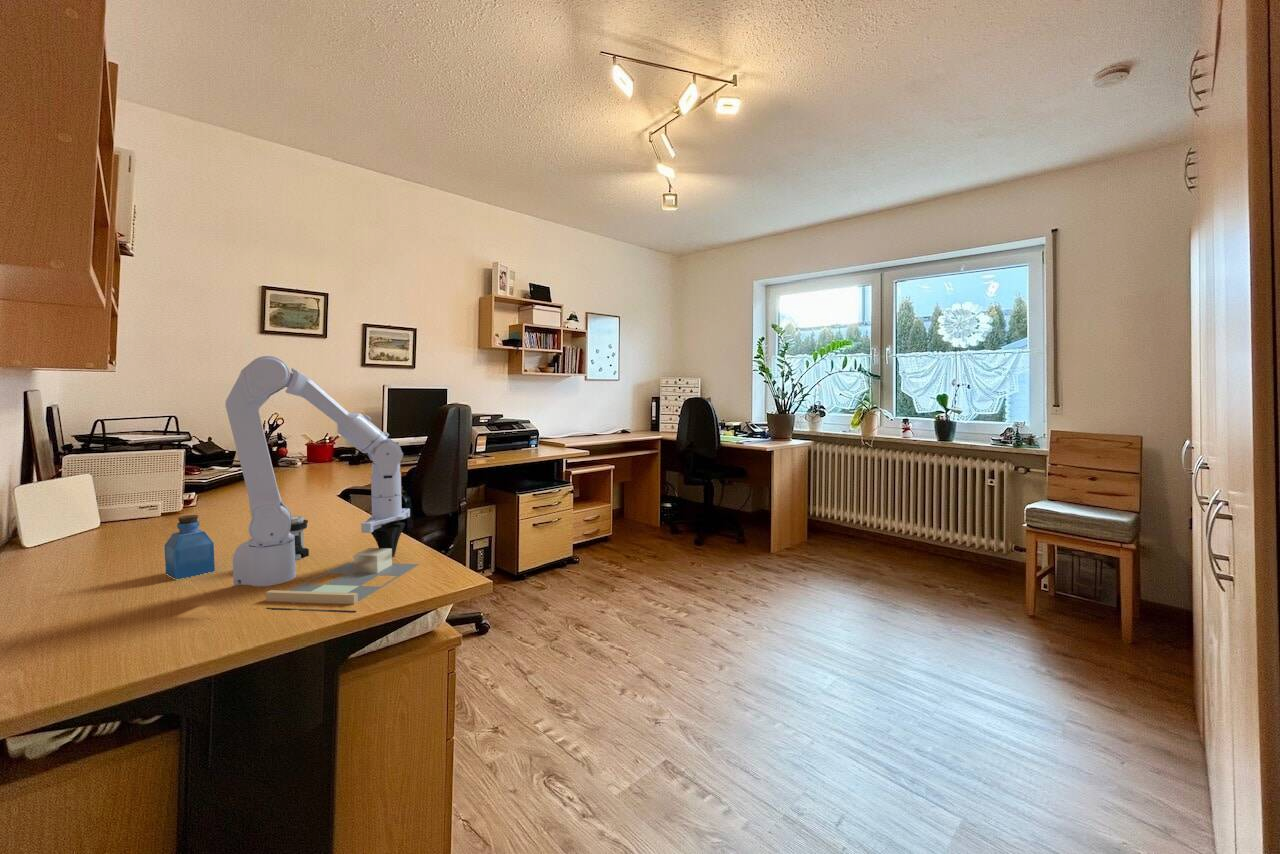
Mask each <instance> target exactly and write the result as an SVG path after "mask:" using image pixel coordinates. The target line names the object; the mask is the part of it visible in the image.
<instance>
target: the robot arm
mask: <svg viewBox="0 0 1280 854" xmlns="http://www.w3.org/2000/svg"><path fill="white" fill-rule="evenodd" d="M290 369H291V371H290ZM285 388H286V390H285V393H286V394H289V395H293V396H297V397H301V398H303V399H305V401H308V402H309V403H310V404H311V405H313V406H314V407H315V408H316V409H318V410H319V411H320V412H322V413H323V414H324V415H325V416H327V418H328V417H329V418H330V419H331V420H332V421H333V422H335V423H336V424H337V434H338V435H339V436H341V437H342V438H343V439H345V440H346V441H347V442H348V443H350V444H351V445H352V446H353V447H354V448H356V449H357V450H359V451H360V452H361V453H363V454H367V457H368V458H369V460H370V461H372V463H371V473H370V474H371V475H370V486H371V489H370V490H371V491H370V492H371V516H370V517H369V518H368V519H366V520H365V521H363V522H361V523H360V527H361V529H360V532H361V533H362V534H366V533H369V534H371V535H372V537H373V538H374V540H375V542H376V544H377V546H378V547H377V548H392V559H393V558H394V557H395V555H396V551H397V547H398V543H399V540H400V537H401V534H402V532H403V530H404V528H405V527H406V523H405V522H403V521H402V520H405V519H407V518H410V517H411V509H410V508H407V507H406V508H405V507H404V508H403V507H402V504H403V503H402V473H401V464H400V463H401V461H402V459H403V456H404V452H403V451H402V448H401V446H400V445H399V444H398V443H397V442H396V441H394V440H393V439H392V438H391V439H390V438H389V436H390V434H389V433H388V432H386V431H384V432H383V431H382V430H381V429H380V428H379V427H378V426H376V425H375V424H374V423H373V422H372V421H371V420H372V418H371V417H370V416H369V415H367V414H366V415H363V414H362V413H360V412H349V411H347V410H346V409H345V407H343V406H342V405H341V404H339V403H338V402H337V401H336V400H335V399H334V398H333V397H332V396H331V395H329V394H328V393H327V392H326V391H325V390H323V388H321V387H320V386H319V385H318V384H316V383H315V382H314V381H313V380H312V379H310V378H309V377H308V376H306V375H305V374H303V373H302V372H301V371H298V370H297V369H295V368H294V367H290V368H289V366H288V365H287V363H286V362H284V361H283V360H282V359H281V358H279V357H277V356H272V355H263V356H259V357H257V358H255V359H254V360H252V361H250V362H249V363H248V364H247V365H246V366H245V367H243V368H242V369H241V371H240V373H239V375H238V377H237V379H236V381H235V383H234V385H233V386H232V388H231V390H230V391H229V394H228V396H227V398H226V399H225V409H226V413H227V417H228V421H229V425H230V430H231V433H232V436H233V437H232V438H233V440H234V444H235V448H236V452H237V455H238V459H239V460H238V461H239V463H240V464H239V465H240V467H241V472H242V476H243V479H244V480H243V481H244V483H245V484H244V485H245V487H246V491H247V494H248V495H247V496H248V504H249V511H250V515H251V519H250V522H249V525H248V533H249V534H248V535H250V537H251V538H249V539H248V541H244V542H242V543H241V544H240V545H238V546H237V548H236V549H235V550H234V552H233V555H232V575H233V576H232V578H233V587H235V586H239V585H243V586H244V585H245V586H252V587H269V586H274V585H280V584H283V583H287V582H289V581H292V580H294V579H295V578H296V577H297V572H296V570H297V567H296V566H297V565H296V561H295V539H294V538H295V536H294V535H293V534H291V533H289V532H290V529H291V519H292V517H293V516H292V512H291V511H290V509H289V508H288V507H287V506H286V505H285V504H284V502H283V499H282V495H281V494H280V491H279V487H278V483H277V480H276V475H275V471H274V467H273V464H272V459H271V455H270V450H269V447H268V443H267V438H266V435H265V431H264V426H263V423H262V418H261V415H260V411H259V410H260V408H261V407H262V406H263V405H264V404H265V403H266V402H267V401H268V400H269V399H270V397H271V396H273V395H274V394H277V393H279V392H280V391H282V390H284V389H285ZM329 418H328V419H329ZM401 521H402V522H401Z"/></svg>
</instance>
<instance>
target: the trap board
mask: <svg viewBox="0 0 1280 854" xmlns="http://www.w3.org/2000/svg"><path fill="white" fill-rule="evenodd" d="M418 566H420V563H394V562H392V565H391V566H389V567H388V568H386V569H384V570H382V571H380V572H378V573H360V572H354V561H348V562H345V563H344V564H341V565H340V566H337V567H335V568H333V569H330V570H329V571H327V572H324V573H322V574H320V575H319V576H316V577H314V578H312V579H309V580H307V581H305V582H303V583H301V584H299V585H297V586H295V587H293V588H291V589H289V590H280V589H279V590H275V589H271V590H268V591H266V592H265V601H266V602H272V603H273V602H275V603H277V602H278V603H280V602H281V603H303V604H304V603H307V604H332V605H333V604H334V605H335V604H336V605H339V604H340V605H355V604H357V603H359V602H361V601H362V600H363V599H365V598H367V597H368V596H370V595H372V594H373V593H375V592H376V591H378V590H380V589H382V588H383V587H385V586H386V585H388V584H390V583H391V582H394V580H397V579H398V578H399V577H401V576H403V575H405V574H406V573H408V572H410V571H411V570H413V569H415V568H416V567H418ZM328 574H329V575H331V574H333V575H341V576H339V577H337V578H335V579H333V580H331V581H329V582H327V583H325V584H308V583H311V582H313V581H314V580H316V579H318V578H321V577H323V576H326V575H328ZM379 576H395V577H393V578H392V579H390V580H389V581H387V582H385V583H383V584H382V585H380V586H374V585H372V586H371V585H370V586H369V585H364V584H367V583H368V582H369V581H372V580H374V579H375V578H377V577H379ZM266 609H272V610H271V611H273V610H274V611H293V610H299V611H301V612H329V613H352V614H353V613H356V612H357V610H345V609H319V608H318V609H315V608H314V609H313V608H312V609H311V608H287V607H285V608H284V607H266ZM299 611H298V612H299Z"/></svg>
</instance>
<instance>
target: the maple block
mask: <svg viewBox="0 0 1280 854" xmlns="http://www.w3.org/2000/svg"><path fill="white" fill-rule="evenodd" d="M353 562H354V572H360V573H378V572H380V571H382V570H384V569H386V568H388V567H389V566H391V565H392V563H393V558H392V548H379V547H368V548H366V549H364V550H362V551H359V552H357V553H355V554H353Z"/></svg>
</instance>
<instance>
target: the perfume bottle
mask: <svg viewBox="0 0 1280 854" xmlns="http://www.w3.org/2000/svg"><path fill="white" fill-rule="evenodd" d="M177 519H178V522H177V523H176V528H177V530H178V532H172V534H171V536H170V537H169V538H168V540H167V541H166V542H165V544H164V562H165V575H166V574H168V575H169V576H171V577H173V578H175V579H181V578H185V579H187V578H186V577H189V578H192V577H191V576H194V577H197V576H196V575H198V576H201V575H200V574H202V575H205V574H204V573H207V574H209V573H208V572H211V573H214V572H213V571H215V572H216V570H215V569H216V568H215V547H214V546H215V543H214V541H213V540H212V539H211V538H210V537H209V535H208V534H207V533H206V532H205V531H204V530H201V529H199V527H200V520H198V519H199V515H197V514H189V515H182V516H179V517H178V516H177ZM169 576H168V577H169ZM171 577H170V578H171ZM181 580H182V579H181Z"/></svg>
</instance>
